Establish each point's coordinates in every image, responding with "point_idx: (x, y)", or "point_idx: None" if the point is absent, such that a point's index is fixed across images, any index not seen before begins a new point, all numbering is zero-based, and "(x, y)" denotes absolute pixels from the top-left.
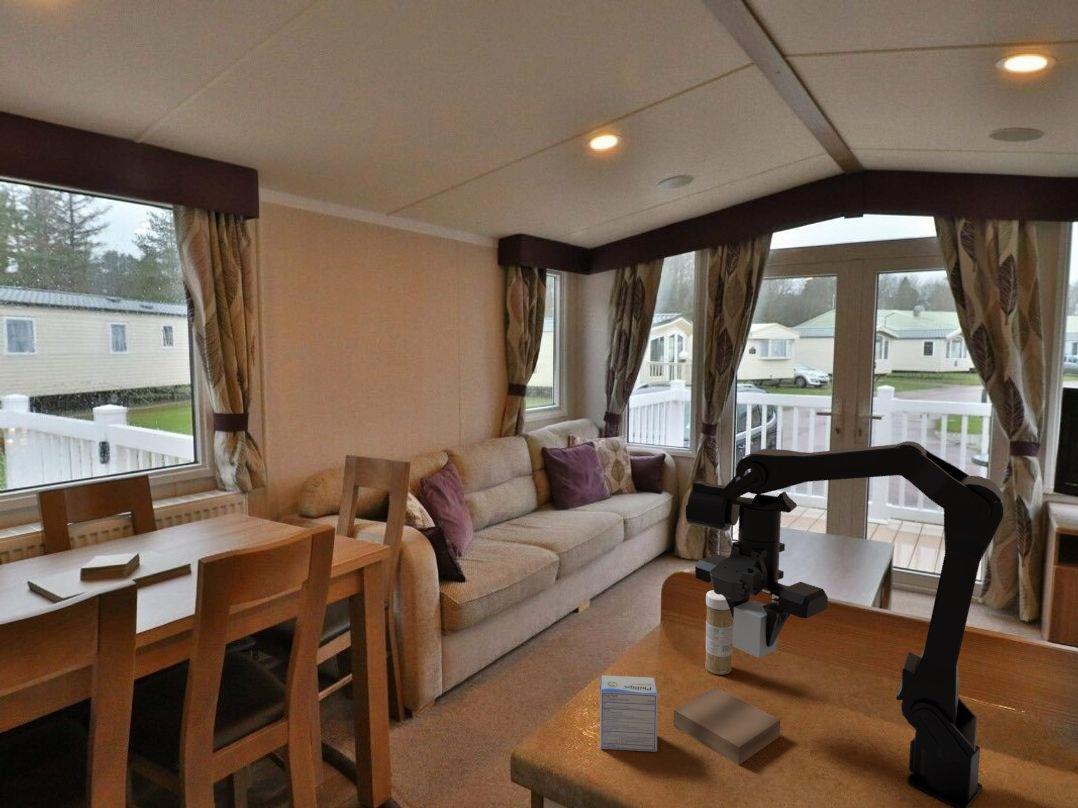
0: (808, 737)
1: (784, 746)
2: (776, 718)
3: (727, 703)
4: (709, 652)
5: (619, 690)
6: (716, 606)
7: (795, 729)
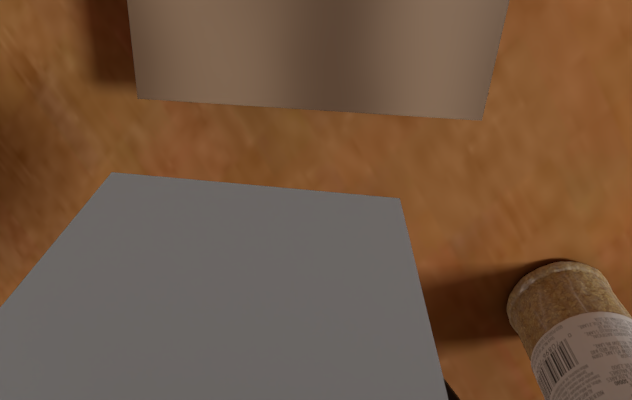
0: (97, 149)
1: (108, 29)
2: (153, 95)
3: (370, 36)
4: (616, 315)
5: None
6: None
7: (154, 160)
